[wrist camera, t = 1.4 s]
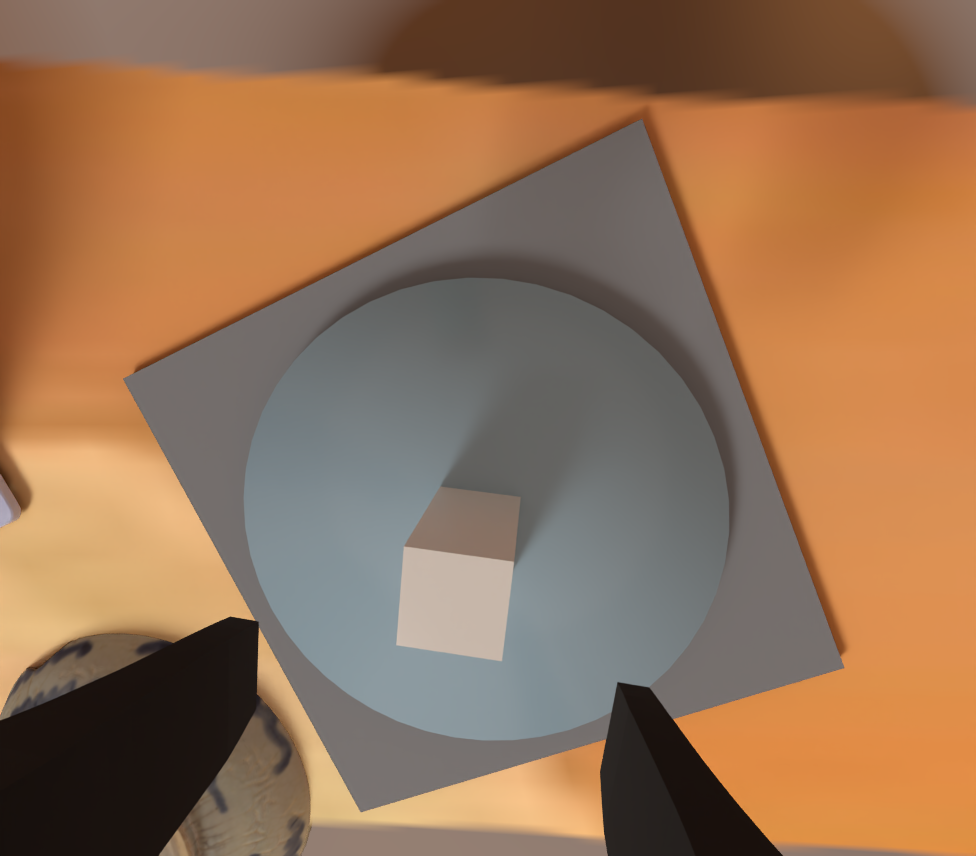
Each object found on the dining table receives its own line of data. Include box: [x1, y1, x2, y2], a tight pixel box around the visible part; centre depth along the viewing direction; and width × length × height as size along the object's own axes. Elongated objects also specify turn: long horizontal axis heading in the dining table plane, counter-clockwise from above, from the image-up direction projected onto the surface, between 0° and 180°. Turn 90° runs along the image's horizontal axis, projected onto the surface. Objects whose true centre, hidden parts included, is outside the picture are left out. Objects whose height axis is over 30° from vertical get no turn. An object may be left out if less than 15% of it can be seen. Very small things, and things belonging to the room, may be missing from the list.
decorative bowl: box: [0, 634, 312, 856], centre depth 22 cm, size 15×4×15 cm
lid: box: [244, 278, 729, 740], centre depth 16 cm, size 17×17×6 cm
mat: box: [123, 119, 844, 812], centre depth 19 cm, size 20×20×1 cm
